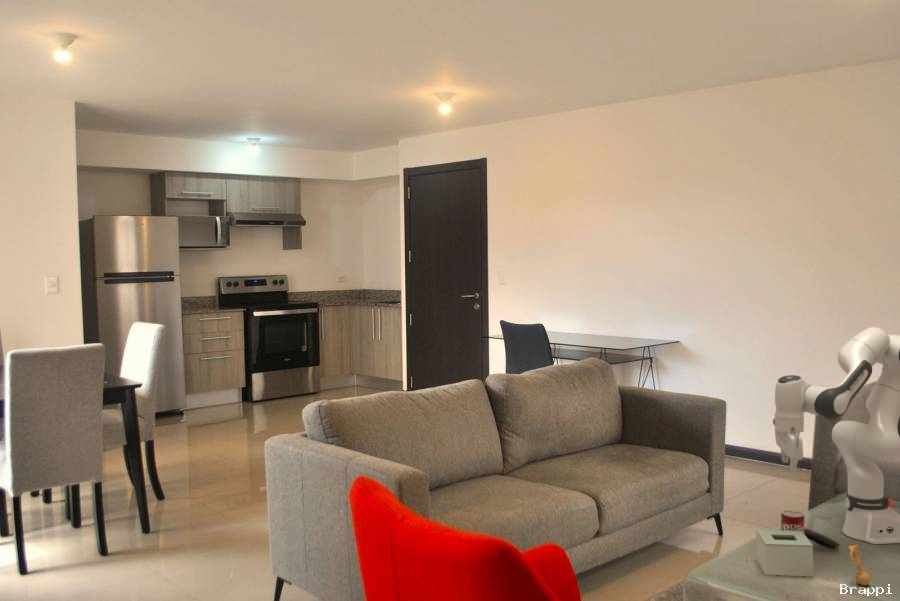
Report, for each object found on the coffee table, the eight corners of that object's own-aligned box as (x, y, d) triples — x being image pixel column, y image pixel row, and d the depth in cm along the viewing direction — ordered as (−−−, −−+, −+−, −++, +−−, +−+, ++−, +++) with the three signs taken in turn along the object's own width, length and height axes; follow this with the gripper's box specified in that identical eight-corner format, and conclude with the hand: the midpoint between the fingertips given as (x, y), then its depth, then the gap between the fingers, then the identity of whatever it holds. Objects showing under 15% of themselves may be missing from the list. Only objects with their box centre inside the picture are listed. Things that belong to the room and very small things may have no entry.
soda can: (806, 552, 262) (806, 517, 261) (783, 551, 264) (783, 516, 263) (801, 544, 269) (801, 510, 269) (778, 543, 271) (778, 509, 270)
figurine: (867, 591, 233) (867, 552, 232) (844, 586, 237) (845, 547, 236) (872, 581, 240) (873, 543, 239) (851, 576, 243) (851, 538, 242)
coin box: (801, 561, 256) (801, 531, 255) (812, 576, 244) (813, 545, 243) (756, 559, 258) (756, 529, 257) (765, 575, 246) (765, 543, 245)
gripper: (808, 432, 250) (808, 475, 251) (791, 418, 270) (790, 457, 271) (787, 432, 251) (787, 475, 252) (771, 418, 271) (771, 457, 272)
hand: (789, 466), depth 262 cm, fingers open, 8 cm apart
